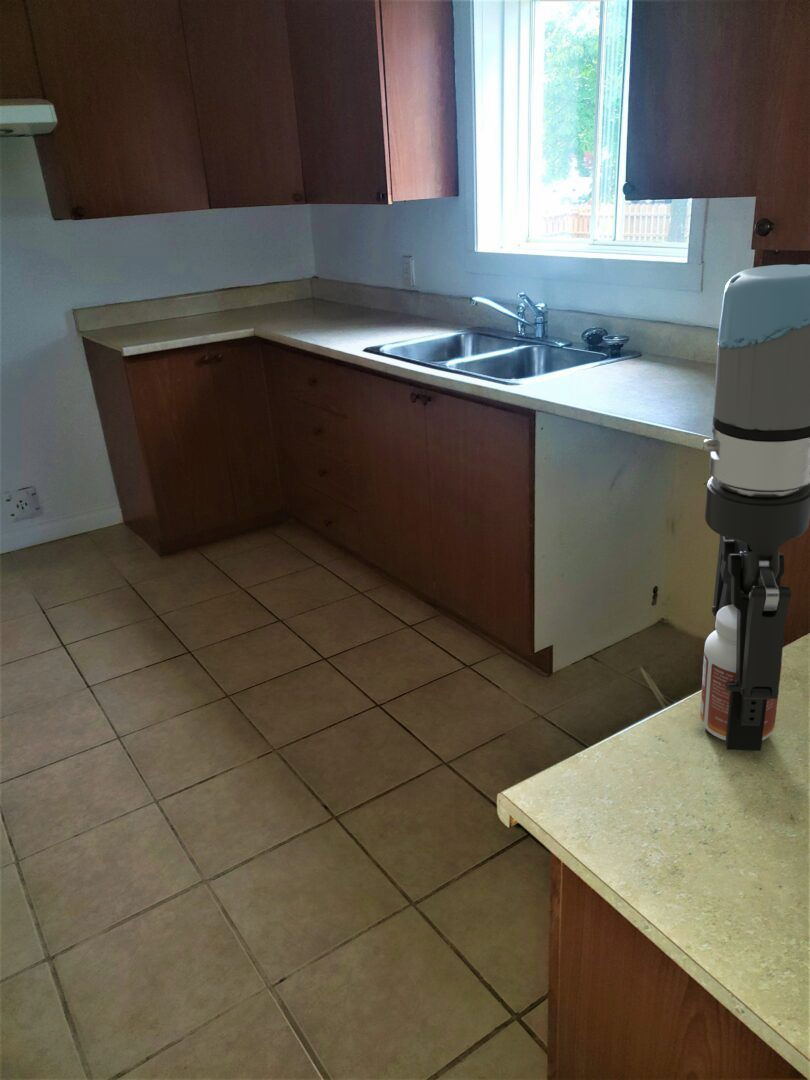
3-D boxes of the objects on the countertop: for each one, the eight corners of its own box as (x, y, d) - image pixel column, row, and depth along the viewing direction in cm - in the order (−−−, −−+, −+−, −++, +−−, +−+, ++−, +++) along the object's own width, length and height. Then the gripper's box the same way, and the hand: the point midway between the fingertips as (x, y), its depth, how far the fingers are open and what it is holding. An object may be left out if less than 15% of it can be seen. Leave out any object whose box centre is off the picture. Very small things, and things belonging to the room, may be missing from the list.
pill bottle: (790, 737, 70) (804, 627, 65) (726, 754, 69) (736, 644, 64) (745, 696, 76) (756, 592, 71) (685, 711, 75) (692, 607, 70)
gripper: (689, 439, 72) (675, 659, 81) (733, 533, 55) (709, 797, 64) (780, 436, 70) (755, 660, 80) (854, 532, 53) (810, 801, 63)
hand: (734, 721), depth 72 cm, fingers closed on pill bottle, 6 cm apart
